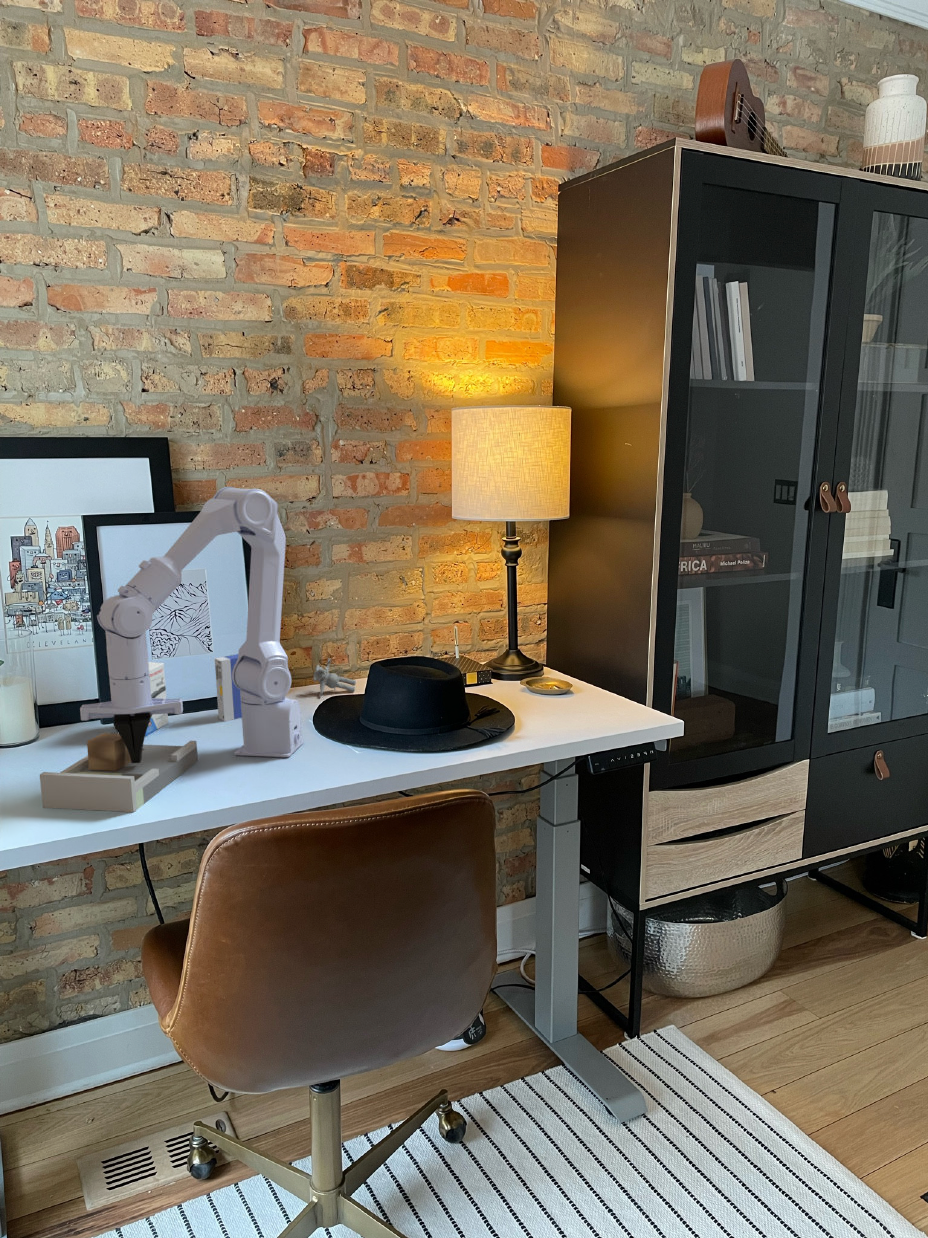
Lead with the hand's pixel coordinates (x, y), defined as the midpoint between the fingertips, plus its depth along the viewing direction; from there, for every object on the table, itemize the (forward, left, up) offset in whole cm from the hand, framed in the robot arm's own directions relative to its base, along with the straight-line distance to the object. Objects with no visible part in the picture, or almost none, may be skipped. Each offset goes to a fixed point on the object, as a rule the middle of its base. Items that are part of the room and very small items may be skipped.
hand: (136, 761), depth 141 cm
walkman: (-2, -35, -4) cm, 35 cm away
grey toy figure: (-15, -53, -4) cm, 55 cm away
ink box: (+12, -25, -4) cm, 28 cm away
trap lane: (+2, 0, -3) cm, 4 cm away
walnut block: (+4, 0, -1) cm, 4 cm away
